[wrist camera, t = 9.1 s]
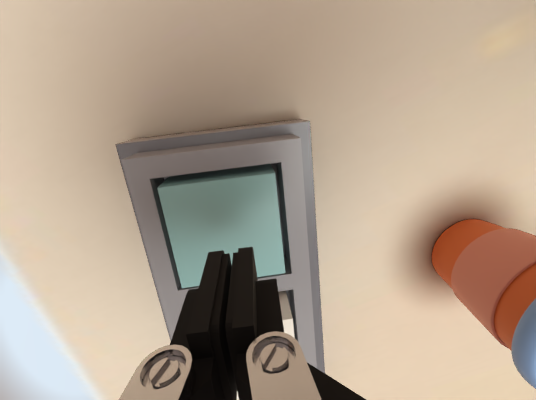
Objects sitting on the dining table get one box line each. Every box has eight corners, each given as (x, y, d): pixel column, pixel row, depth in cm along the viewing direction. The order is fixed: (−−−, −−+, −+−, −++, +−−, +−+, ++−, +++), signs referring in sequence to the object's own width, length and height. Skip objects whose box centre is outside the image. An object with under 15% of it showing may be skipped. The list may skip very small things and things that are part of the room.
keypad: (133, 139, 20) (95, 150, 15) (300, 119, 21) (320, 123, 15) (204, 414, 29) (196, 482, 24) (319, 395, 29) (336, 456, 24)
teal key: (170, 175, 18) (157, 188, 15) (269, 162, 18) (275, 172, 15) (190, 262, 20) (181, 288, 17) (279, 249, 20) (285, 272, 17)
